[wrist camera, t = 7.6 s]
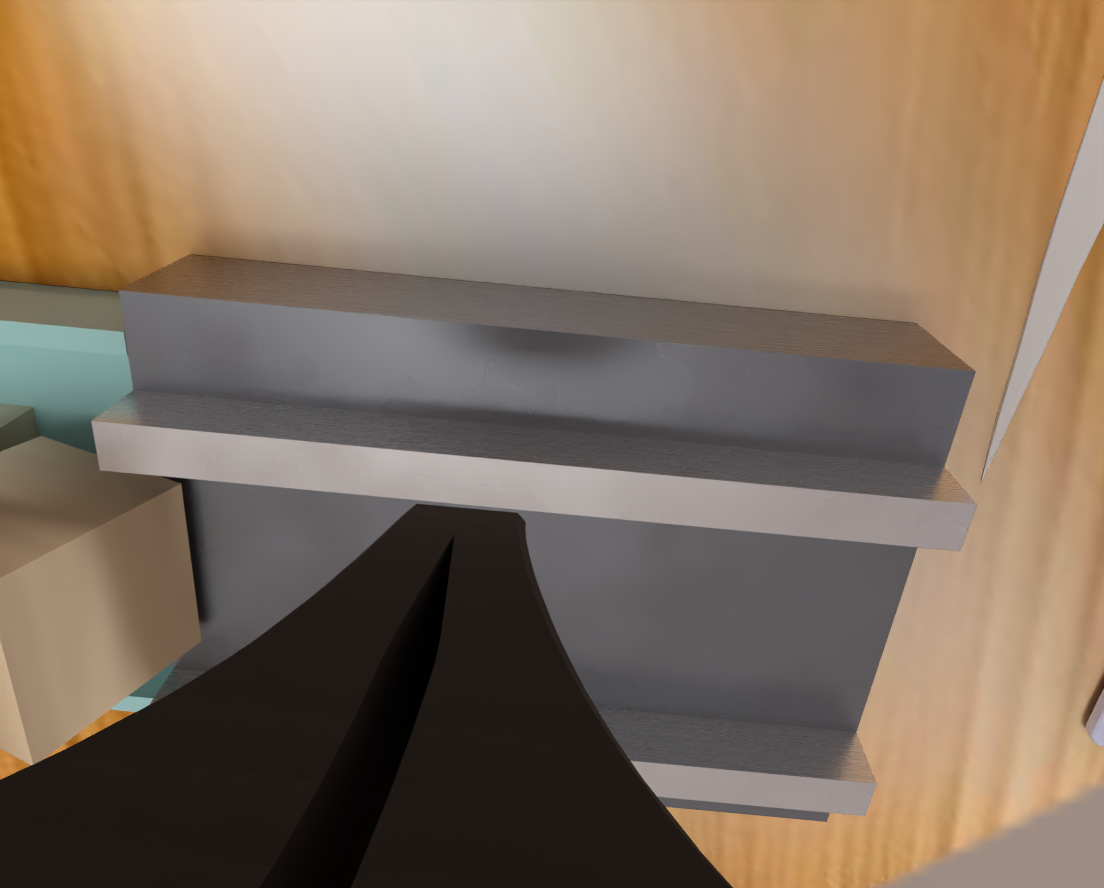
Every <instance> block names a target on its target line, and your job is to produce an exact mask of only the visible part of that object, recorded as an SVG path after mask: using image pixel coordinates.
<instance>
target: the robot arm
mask: <svg viewBox="0 0 1104 888" xmlns="http://www.w3.org/2000/svg"><path fill="white" fill-rule="evenodd" d="M525 529H526V522H525V521H524V519H523V518H522V517H521V516H520V515H519V514H518V513H515V512H504V511H493V510H482V509H471V508H460V507H449V506H438V505H427V504H416V505H414V506H413V507H412V508H411V509H409V510H408V511H407V512H406V513H405V514H403V515H402V516H401V517H400V518H399V519H398V520H397V521H396V522H395V523H394V524H393V525H392V526H391V527H390V528H389V529H387V530H386V531H385V532H384V533H383V534H382V535H381V536H380V537H379V538H378V539H377V540H376V541H375V542H374V543H372V544H371V545H370V546H369V547H368V548H367V549H366V550H365V551H364V552H363V553H362V554H360V555H359V556H358V557H357V558H356V559H355V560H354V561H353V562H351V563H350V564H349V565H348V566H347V567H346V568H344V569H343V570H342V571H341V572H340V573H339V574H337V575H336V576H335V577H334V578H333V579H332V580H330V581H329V582H328V583H327V584H326V585H325V586H323V587H322V588H321V589H320V590H319V591H318V592H316V593H315V594H314V595H313V596H311V597H310V598H309V599H308V600H306V601H305V602H304V603H303V604H301V605H300V606H299V607H297V608H296V609H295V610H293V611H292V612H291V613H289V614H288V615H287V616H286V617H284V618H283V619H282V620H280V621H279V622H278V623H276V624H275V625H274V626H272V627H271V628H270V629H269V630H267V631H266V632H265V633H263V634H262V635H261V636H259V637H258V638H257V639H255V640H254V641H252V642H251V643H249V644H248V645H247V646H245V647H244V648H242V649H241V650H239V651H238V652H236V653H235V654H233V655H232V656H230V657H229V658H227V659H226V660H224V661H222V662H221V663H219V664H218V665H216V666H214V667H213V668H211V669H210V670H208V671H206V672H205V673H203V674H202V675H200V676H198V677H197V678H195V679H194V680H192V681H190V682H189V683H187V684H185V685H184V686H182V687H180V688H179V689H177V690H175V691H174V692H172V693H170V694H168V695H167V696H165V697H163V698H161V699H160V700H158V701H156V702H154V703H152V704H150V705H148V706H146V707H144V708H143V709H141V710H139V711H137V712H135V713H133V714H131V715H129V716H128V717H126V718H124V719H122V720H120V721H118V722H116V723H114V724H112V725H111V726H109V727H107V728H105V729H103V730H101V731H99V732H97V733H96V734H94V735H92V736H90V737H88V738H86V739H84V740H82V741H81V742H79V743H77V744H75V745H73V746H71V747H69V748H67V749H65V750H63V751H61V752H59V753H57V754H55V755H53V756H50V757H48V758H46V759H44V760H42V761H40V762H38V763H35V764H33V765H31V766H29V767H27V768H25V769H23V770H20V771H18V772H16V773H14V774H12V775H10V776H8V777H5V778H3V779H1V780H0V888H733V887H732V886H731V885H730V884H729V883H728V882H727V881H726V880H725V878H724V877H723V876H722V875H721V874H720V873H719V872H718V871H717V869H716V868H715V867H714V866H713V865H712V864H711V863H710V862H709V861H708V859H707V858H706V857H705V856H704V855H703V854H702V853H701V851H700V850H699V849H698V848H697V846H696V845H695V844H694V843H693V841H692V840H691V839H690V838H689V836H688V835H687V834H686V832H685V831H684V830H683V829H682V827H681V826H680V825H679V824H678V822H677V821H676V820H675V819H674V817H673V816H672V815H671V814H670V812H669V811H668V810H667V808H666V807H665V806H664V805H663V803H662V802H661V801H660V800H659V798H658V797H657V796H656V795H655V793H654V792H653V791H652V790H651V788H650V787H649V786H648V784H647V783H646V782H645V781H644V779H643V778H642V777H641V775H640V774H639V772H638V771H637V770H636V768H635V767H634V765H633V764H632V762H631V761H630V759H629V758H628V756H627V755H626V753H625V752H624V751H623V749H622V748H621V746H620V745H619V743H618V742H617V740H616V739H615V737H614V736H613V734H612V733H611V731H610V729H609V728H608V726H607V725H606V723H605V721H604V720H603V718H602V717H601V715H600V713H599V712H598V710H597V708H596V707H595V705H594V703H593V702H592V700H591V698H590V696H589V695H588V693H587V691H586V689H585V688H584V686H583V684H582V682H581V680H580V678H579V676H578V675H577V673H576V671H575V669H574V667H573V665H572V663H571V661H570V659H569V657H568V655H567V653H566V651H565V649H564V647H563V645H562V642H561V640H560V638H559V636H558V634H557V631H556V629H555V627H554V625H553V622H552V620H551V617H550V615H549V612H548V609H547V607H546V604H545V602H544V599H543V597H542V594H541V591H540V589H539V586H538V583H537V580H536V577H535V574H534V570H533V566H532V563H531V559H530V556H529V551H528V546H527V540H526V531H525ZM1085 729H1086V732H1087V734H1088V735H1089V737H1090V738H1091V739H1092V741H1093V742H1094V743H1096V744H1097V745H1099V746H1103V747H1104V689H1103V691H1102V693H1101V695H1100V697H1099V699H1098V701H1097V703H1096V705H1095V707H1094V709H1093V711H1092V713H1091V715H1090V717H1089V719H1088V721H1087V724H1086V728H1085Z"/></svg>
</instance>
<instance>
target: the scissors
mask: <svg viewBox="0 0 1104 888" xmlns="http://www.w3.org/2000/svg"><path fill="white" fill-rule="evenodd" d="M1103 223H1104V76H1103V79H1102V82H1101V85H1100V88H1099V91H1098V94H1097V97H1096V100H1095V103H1094V106H1093V109H1092V112H1091V114H1090V117H1089V120H1088V123H1087V126H1086V129H1085V132H1084V135H1083V138H1082V141H1081V144H1080V147H1079V150H1078V152H1077V155H1076V158H1075V161H1074V164H1073V167H1072V170H1071V173H1070V176H1069V179H1068V182H1067V185H1066V187H1065V190H1064V193H1063V196H1062V199H1061V202H1060V205H1059V208H1058V211H1057V214H1056V218H1055V221H1054V224H1053V227H1052V231H1051V234H1050V237H1049V240H1048V244H1047V247H1046V250H1045V253H1044V257H1043V260H1042V263H1041V266H1040V270H1039V273H1038V276H1037V280H1036V283H1035V287H1034V291H1033V294H1032V298H1031V301H1030V305H1029V308H1028V312H1027V316H1026V319H1025V323H1024V326H1023V330H1022V333H1021V337H1020V341H1019V344H1018V347H1017V351H1016V354H1015V357H1014V360H1013V364H1012V367H1011V370H1010V374H1009V377H1008V380H1007V383H1006V387H1005V390H1004V393H1003V397H1002V400H1001V403H1000V406H999V410H998V413H997V416H996V420H995V424H994V428H993V432H992V436H991V440H990V444H989V448H988V453H987V457H986V462H985V467H984V471H983V476H982V480H983V478H984V476H985V474H986V472H987V470H988V468H989V466H990V464H991V461H992V459H993V457H994V455H995V453H996V451H997V449H998V447H999V445H1000V442H1001V440H1002V438H1003V436H1004V434H1005V432H1006V430H1007V428H1008V426H1009V424H1010V421H1011V419H1012V417H1013V415H1014V413H1015V411H1016V409H1017V407H1018V405H1019V402H1020V400H1021V398H1022V396H1023V394H1024V392H1025V390H1026V388H1027V386H1028V384H1029V381H1030V379H1031V377H1032V375H1033V373H1034V371H1035V369H1036V367H1037V365H1038V363H1039V360H1040V358H1041V356H1042V354H1043V352H1044V350H1045V348H1046V346H1047V344H1048V341H1049V339H1050V337H1051V335H1052V333H1053V330H1054V328H1055V326H1056V324H1057V321H1058V319H1059V317H1060V314H1061V312H1062V310H1063V308H1064V305H1065V303H1066V301H1067V299H1068V296H1069V294H1070V292H1071V289H1072V287H1073V285H1074V283H1075V280H1076V278H1077V276H1078V274H1079V272H1080V270H1081V268H1082V266H1083V264H1084V262H1085V260H1086V258H1087V256H1088V254H1089V252H1090V250H1091V248H1092V245H1093V243H1094V241H1095V239H1096V237H1097V235H1098V233H1099V231H1100V229H1101V227H1102V225H1103ZM981 482H982V481H981Z"/></svg>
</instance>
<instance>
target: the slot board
mask: <svg viewBox="0 0 1104 888" xmlns="http://www.w3.org/2000/svg"><path fill="white" fill-rule="evenodd" d="M119 297H120V304H121V311H122V317H123V324H124V331H125V338H126V345H127V352H128V358H129V365H130V372H131V379H132V386H133V391H131V392H130V393H129V394H127V395H126V396H124V397H123V398H122V399H120V400H119V401H118V402H116V403H115V404H114V405H112V406H111V407H110V408H108V409H107V410H106V411H104V412H103V413H101V414H100V415H99V416H97V417H96V418H95V419H93V420H92V421H91V422H92V428H93V434H94V439H95V445H96V451H97V457H98V463H99V468H100V470H102V471H113V472H124V473H134V474H145V475H156V476H160V477H163V478H166V479H169V480H172V481H175V482H178V483H181V486H182V494H183V502H184V510H185V517H186V525H187V533H188V541H189V548H190V556H191V564H192V572H193V579H194V587H195V595H196V602H197V610H198V618H199V626H200V633H201V642H200V643H198V644H197V645H195V646H194V647H193V648H191V649H190V650H189V651H187V652H186V653H185V654H183V655H182V656H181V657H179V658H178V659H177V660H175V661H174V662H173V666H174V669H173V670H172V672H171V673H170V675H169V676H168V678H167V679H166V681H165V682H164V683H163V685H162V686H161V688H160V689H159V691H158V692H157V694H156V695H155V697H154V698H153V700H152V701H151V703H150V704H152V703H154V702H156V701H158V700H160V699H161V698H163V697H165V696H167V695H168V694H170V693H172V692H174V691H175V690H177V689H179V688H180V687H182V686H184V685H185V684H187V683H189V682H190V681H192V680H194V679H195V678H197V677H198V676H200V675H202V674H203V673H205V672H206V671H208V670H210V669H211V668H213V667H214V666H216V665H218V664H219V663H221V662H222V661H224V660H226V659H227V658H229V657H230V656H232V655H233V654H235V653H236V652H238V651H239V650H241V649H242V648H244V647H245V646H247V645H248V644H249V643H251V642H252V641H254V640H255V639H257V638H258V637H259V636H261V635H262V634H263V633H265V632H266V631H267V630H269V629H270V628H271V627H272V626H274V625H275V624H276V623H278V622H279V621H280V620H282V619H283V618H284V617H286V616H287V615H288V614H289V613H291V612H292V611H293V610H295V609H296V608H297V607H299V606H300V605H301V604H303V603H304V602H305V601H306V600H308V599H309V598H310V597H311V596H313V595H314V594H315V593H316V592H318V591H319V590H320V589H321V588H322V587H323V586H325V585H326V584H327V583H328V582H329V581H330V580H332V579H333V578H334V577H335V576H336V575H337V574H339V573H340V572H341V571H342V570H343V569H344V568H346V567H347V566H348V565H349V564H350V563H351V562H353V561H354V560H355V559H356V558H357V557H358V556H359V555H360V554H362V553H363V552H364V551H365V550H366V549H367V548H368V547H369V546H370V545H371V544H372V543H374V542H375V541H376V540H377V539H378V538H379V537H380V536H381V535H382V534H383V533H384V532H385V531H386V530H387V529H389V528H390V527H391V526H392V525H393V524H394V523H395V522H396V521H397V520H398V519H399V518H400V517H401V516H402V515H403V514H405V513H406V512H407V511H408V510H409V509H411V508H412V507H413V506H414V505H416V504H427V505H438V506H449V507H460V508H471V509H482V510H493V511H504V512H515V513H518V514H519V515H520V516H521V517H522V518H523V519H524V521H525V522H526V529H525V531H526V540H527V546H528V551H529V556H530V559H531V563H532V566H533V570H534V574H535V577H536V580H537V583H538V586H539V589H540V591H541V594H542V597H543V599H544V602H545V604H546V607H547V609H548V612H549V615H550V617H551V620H552V622H553V625H554V627H555V629H556V631H557V634H558V636H559V638H560V640H561V642H562V645H563V647H564V649H565V651H566V653H567V655H568V657H569V659H570V661H571V663H572V665H573V667H574V669H575V671H576V673H577V675H578V676H579V678H580V680H581V682H582V684H583V686H584V688H585V689H586V691H587V693H588V695H589V696H590V698H591V700H592V702H593V703H594V705H595V707H596V708H597V710H598V712H599V713H600V715H601V717H602V718H603V720H604V721H605V723H606V725H607V726H608V728H609V729H610V731H611V733H612V734H613V736H614V737H615V739H616V740H617V742H618V743H619V745H620V746H621V748H622V749H623V751H624V752H625V753H626V755H627V756H628V758H629V759H630V761H631V762H632V764H633V765H634V767H635V768H636V770H637V771H638V772H639V774H640V775H641V777H642V778H643V779H644V781H645V782H646V783H647V784H648V786H649V787H650V788H651V790H652V791H653V792H654V793H655V795H656V796H657V797H658V798H659V800H660V801H661V802H662V803H663V805H664V806H665V807H674V808H685V809H695V810H706V811H717V812H728V813H738V814H749V815H760V816H770V817H781V818H792V819H803V820H813V821H824V822H827V819H828V816H829V813H838V814H848V815H859V816H865V815H866V813H867V810H868V807H869V804H870V801H871V799H872V796H873V793H874V790H875V787H876V785H877V783H876V780H875V778H874V775H873V773H872V770H871V768H870V765H869V763H868V760H867V758H866V755H865V753H864V750H863V748H862V745H861V743H860V740H859V738H858V735H857V733H856V731H857V728H858V725H859V722H860V719H861V716H862V713H863V710H864V707H865V704H866V701H867V698H868V695H869V692H870V689H871V686H872V683H873V680H874V677H875V674H876V671H877V668H878V665H879V662H880V659H881V656H882V653H883V650H884V647H885V644H886V641H887V638H888V635H889V632H890V629H891V626H892V623H893V620H894V617H895V614H896V610H897V607H898V604H899V601H900V598H901V595H902V592H903V589H904V586H905V583H906V580H907V577H908V574H909V571H910V568H911V565H912V562H913V559H914V556H915V553H916V550H917V547H920V548H930V549H941V550H951V551H960V550H961V548H962V545H963V542H964V539H965V537H966V534H967V531H968V528H969V525H970V523H971V520H972V517H973V514H974V511H975V509H976V506H977V504H976V503H975V502H974V501H973V500H972V498H971V497H970V496H969V495H968V494H967V493H966V491H965V490H964V489H963V488H962V487H961V486H960V485H959V483H958V482H957V481H956V480H955V479H954V478H953V476H952V475H951V474H950V473H949V472H948V471H947V470H946V468H945V467H944V465H945V462H946V459H947V456H948V453H949V450H950V447H951V444H952V441H953V438H954V435H955V432H956V429H957V426H958V423H959V420H960V417H961V414H962V411H963V408H964V405H965V402H966V399H967V396H968V393H969V390H970V387H971V384H972V381H973V378H974V375H975V372H976V371H974V370H973V369H972V368H971V367H969V366H968V365H967V364H966V363H964V362H963V361H962V360H961V359H960V358H958V357H957V356H956V355H955V354H953V353H952V352H951V351H950V350H949V349H947V348H946V347H945V346H944V345H942V344H941V343H940V342H939V341H937V340H936V339H935V338H934V337H933V336H931V335H930V334H929V333H928V332H926V331H925V330H924V329H923V328H922V327H920V326H919V325H918V324H915V323H905V322H894V321H884V320H873V319H863V318H852V317H842V316H831V315H821V314H810V313H799V312H789V311H778V310H768V309H757V308H747V307H736V306H726V305H715V304H705V303H694V302H684V301H673V300H663V299H652V298H641V297H631V296H620V295H610V294H599V293H589V292H578V291H568V290H557V289H547V288H536V287H526V286H515V285H505V284H494V283H484V282H473V281H462V280H452V279H441V278H431V277H420V276H410V275H399V274H389V273H378V272H368V271H357V270H347V269H336V268H326V267H315V266H304V265H294V264H283V263H273V262H262V261H252V260H241V259H231V258H220V257H210V256H199V255H188V256H186V257H184V258H182V259H180V260H178V261H176V262H174V263H172V264H170V265H168V266H166V267H164V268H162V269H160V270H158V271H156V272H154V273H152V274H150V275H148V276H146V277H144V278H142V279H140V280H138V281H136V282H134V283H132V284H130V285H128V286H126V287H124V288H122V289H120V290H119ZM150 704H149V705H150Z"/></svg>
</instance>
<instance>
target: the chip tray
mask: <svg viewBox="0 0 1104 888" xmlns="http://www.w3.org/2000/svg"><path fill="white" fill-rule="evenodd" d="M131 391H133V386H132V379H131V372H130V365H129V358H128V352H127V345H126V338H125V331H124V324H123V317H122V311H121V304H120V297H119V292H114V291H103V290H93V289H82V288H71V287H61V286H50V285H40V284H29V283H19V282H8V281H0V404H8V405H19V406H30V407H34V412H35V417H36V422H37V427H38V431H39V436H43V437H46V438H49V439H52V440H55V441H58V442H61V443H64V444H67V445H70V446H73V447H75V448H78V449H81V450H84V451H87V452H90V453H93V454H96V455H97V451H96V445H95V439H94V434H93V428H92V422H91V421H92V420H93V419H95V418H96V417H97V416H99V415H100V414H101V413H103V412H104V411H106V410H107V409H108V408H110V407H111V406H112V405H114V404H115V403H116V402H118V401H119V400H120V399H122V398H123V397H124V396H126V395H127V394H129V393H130V392H131ZM173 669H174V666H173V663H171V664H170V665H169V666H167V667H166V668H165V669H163V670H162V671H161V672H159V673H158V674H157V675H155V676H154V677H153V678H151V679H150V680H149V681H147V682H146V683H145V684H143V685H142V686H141V687H139V688H138V689H137V690H135V691H134V692H133V693H131V694H130V695H129V696H127V697H126V698H125V699H123V700H122V701H121V702H119V703H118V704H116V705H115V706H114V707H112V708H111V709H110V710H121V711H132V712H137V711H139V710H141V709H143V708H144V707H146V706H148V705H149V704H150V703H151V701H152V700H153V698H154V697H155V695H156V694H157V692H158V691H159V689H160V688H161V686H162V685H163V683H164V682H165V681H166V679H167V678H168V676H169V675H170V673H171V672H172V670H173Z"/></svg>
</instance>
